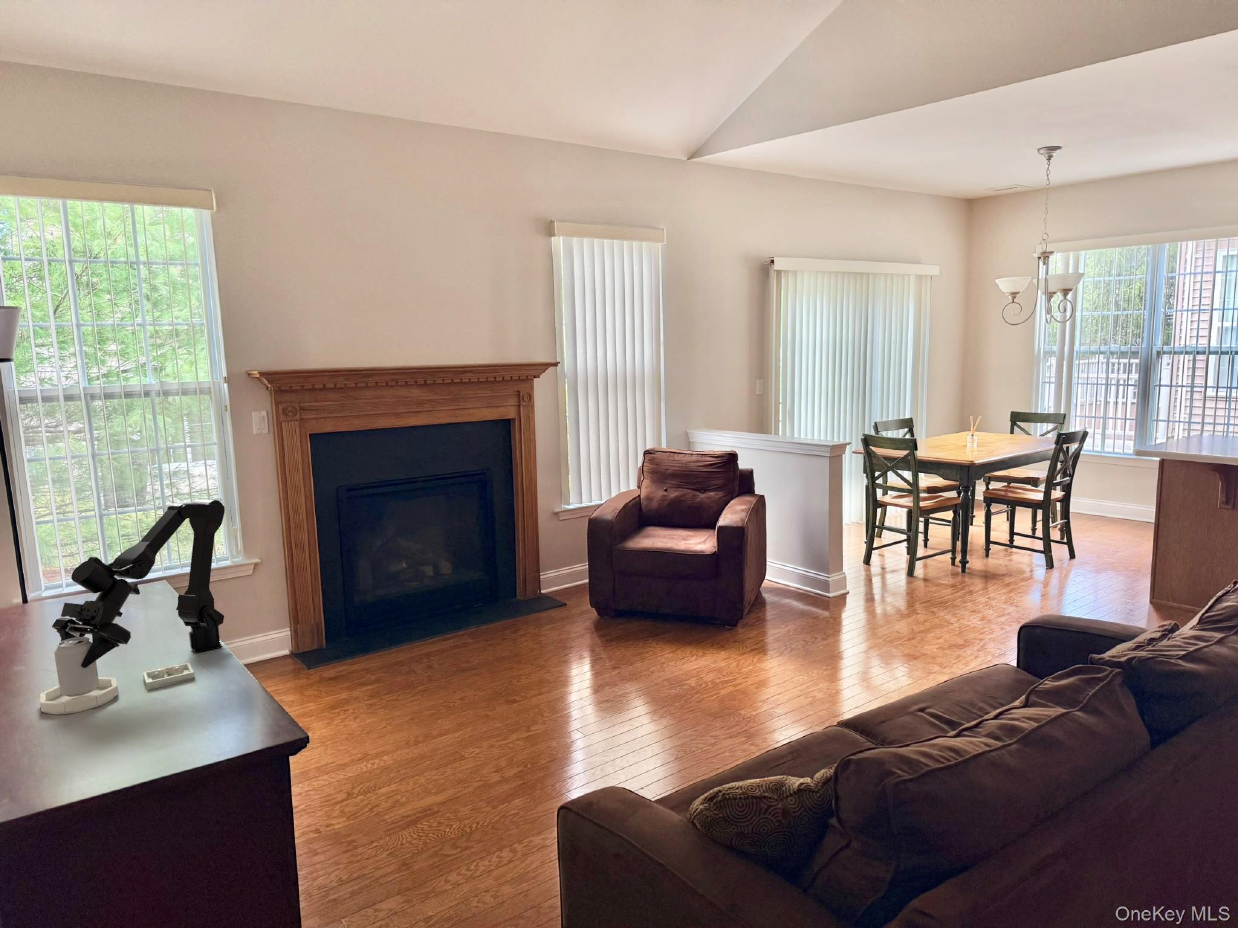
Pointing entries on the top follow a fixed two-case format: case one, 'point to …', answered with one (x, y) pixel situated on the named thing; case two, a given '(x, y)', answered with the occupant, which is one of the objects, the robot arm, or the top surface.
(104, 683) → the bowl
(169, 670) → the pebbles
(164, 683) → the pebble tray
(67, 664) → the can
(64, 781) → the top surface
